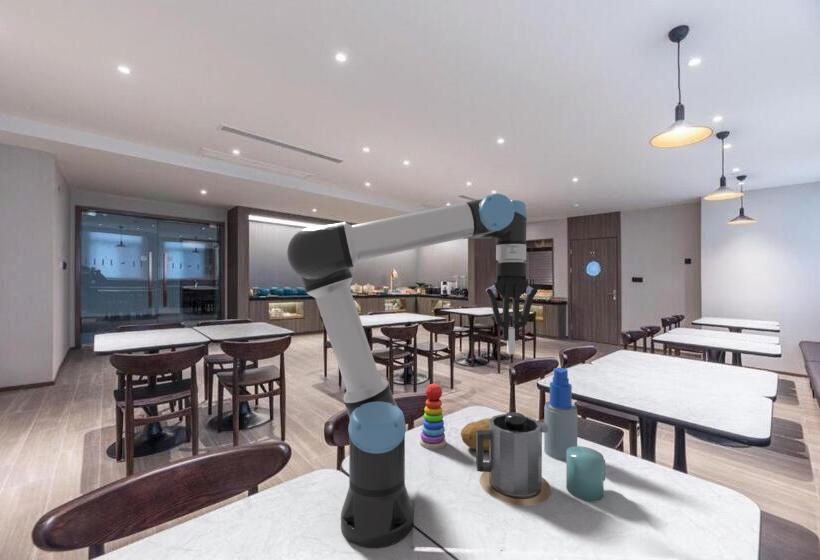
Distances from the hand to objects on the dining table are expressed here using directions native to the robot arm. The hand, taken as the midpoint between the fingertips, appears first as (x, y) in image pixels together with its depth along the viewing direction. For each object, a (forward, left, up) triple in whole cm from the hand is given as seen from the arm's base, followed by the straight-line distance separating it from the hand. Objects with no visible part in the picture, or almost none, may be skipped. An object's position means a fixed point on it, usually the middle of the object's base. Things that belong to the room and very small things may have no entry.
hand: (510, 353), depth 94 cm
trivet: (0, -4, -32) cm, 32 cm away
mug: (+16, -6, -32) cm, 36 cm away
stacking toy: (-20, +17, -32) cm, 41 cm away
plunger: (0, -4, -27) cm, 27 cm away
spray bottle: (+17, +13, -32) cm, 39 cm away
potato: (-4, +15, -32) cm, 36 cm away
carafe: (0, -4, -32) cm, 32 cm away
